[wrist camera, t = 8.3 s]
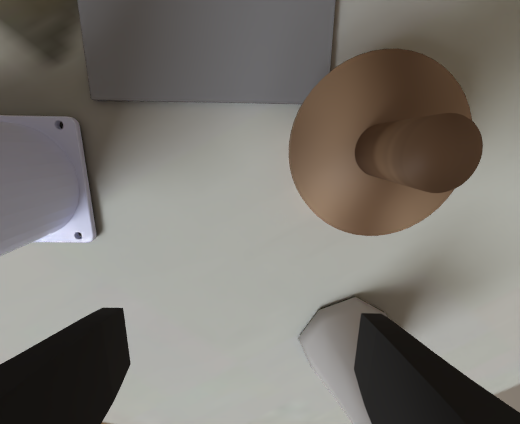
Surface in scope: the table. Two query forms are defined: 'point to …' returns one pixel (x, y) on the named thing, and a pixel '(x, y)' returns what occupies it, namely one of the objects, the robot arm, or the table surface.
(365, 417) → the flask
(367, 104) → the lid
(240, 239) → the table surface
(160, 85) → the mat
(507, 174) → the table surface
